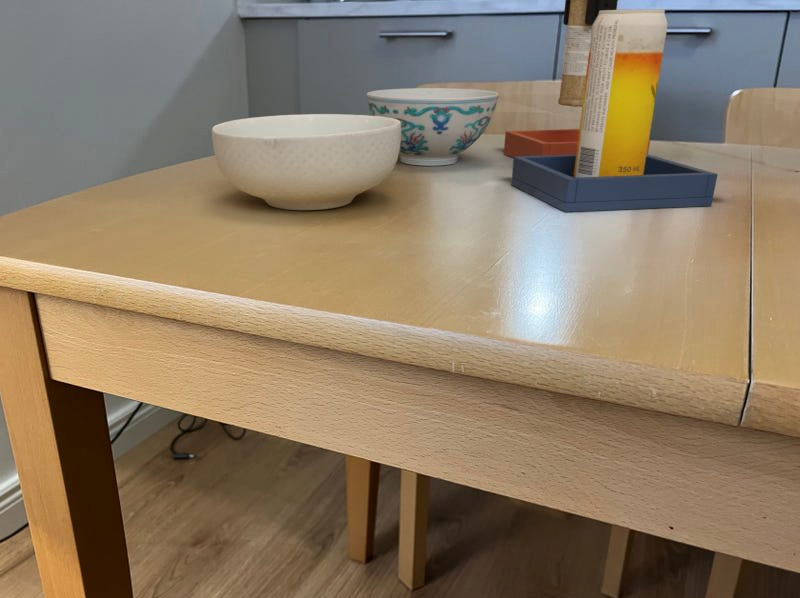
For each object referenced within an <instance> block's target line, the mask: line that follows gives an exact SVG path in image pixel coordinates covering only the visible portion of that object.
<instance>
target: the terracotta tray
mask: <svg viewBox="0 0 800 598" xmlns="http://www.w3.org/2000/svg"><path fill="white" fill-rule="evenodd" d="M579 129H580V128H565V129H563V128H562V129H560V128H559V129H529V130H527V129H526V130H525V129H524V130H506V131H505V134H504V143H503V144H504V146H503V155H505V156H508V157H510V158H513V159H514V157H518V156H521V157H522V156H548V155H576V153H577V145H578V137H579ZM650 145H651V140H650V139H649V142H648V149H647V154H648V155H649V151H650Z"/></svg>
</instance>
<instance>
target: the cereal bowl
mask: <svg viewBox="0 0 800 598" xmlns="http://www.w3.org/2000/svg"><path fill="white" fill-rule="evenodd" d="M211 139H212V145H213V147H212V148H213V153H214V158H215V160H216V164H217V166H218V168H219V171H220V173H221V174H222V175H223V177H224V178H225V180H226V181H228V182H229V184H230V185H232V186H233V187H234V188H236V189H237V190H239V191H241V192H243V193H246V194H248V195H251V196H253V197H257V198H259V199H262V200H264V201H265V203H266V204H267V205H269V206H270V207H273V208H276V209H280V210H290V211H321V210H329V209H335V208H340V207H344V206H347V205H349V204H350V203H352V201H353V200H354V198H355V197H356V196H358V195H360V194H362V193H364V192H366V191H369V190H371V189H372V188H374V187H376V186H377V185H379V184H381V182H383V181H384V180H385V179H386V178H387V177H388V176H389V175H390V174H391V172H392V171H393V169H394V168H395V166H396V164H397V162H398V159H399V154H400V153H399V149H400V144H401V123H400V121H399V120H396V119H393V118H387V117H380V116H371V115H366V114H341V113H309V114H308V113H307V114H305V113H304V114H281V115H268V116H257V117H248V118H247V117H246V118H240V119H233V120H229V121H225V122H221V123H218V124H216V125H214V126H212V128H211Z"/></svg>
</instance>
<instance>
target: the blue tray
mask: <svg viewBox="0 0 800 598" xmlns="http://www.w3.org/2000/svg"><path fill="white" fill-rule="evenodd" d="M575 161H576V155H548V156H522V157H521V156H518V157H514V158H513V162H512V173H511V184H510V185H511V186H513V187H515V188H517V189H519V190H521V191H523V192H525V193H527V194H529V195H531V196H533V197H535V198H537V199H539V200H541V201H542V202H545V203H547V204H549V205H550V206H552V207H554V208H557V209H558V210H560V211H562V212H564V213H576V212H577V213H578V212H580V213H581V212H600V211H625V210H627V211H628V210H648V209H670V208H674V209H675V208H695V207H712V204H713V200H714V194H715V190H716V186H717V185H716V184H717V180H718V173H716V172H713V171H708V170H705V169H701V168H698V167H694V166H691V165H688V164H683V163H680V162H677V161H673V160H669V159H666V158H662V157H659V156H655V155H651V154H649V153H648V154H647V155H646V161H645V167H644V173H643V175H629V176H601V177H574V169H575Z"/></svg>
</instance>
